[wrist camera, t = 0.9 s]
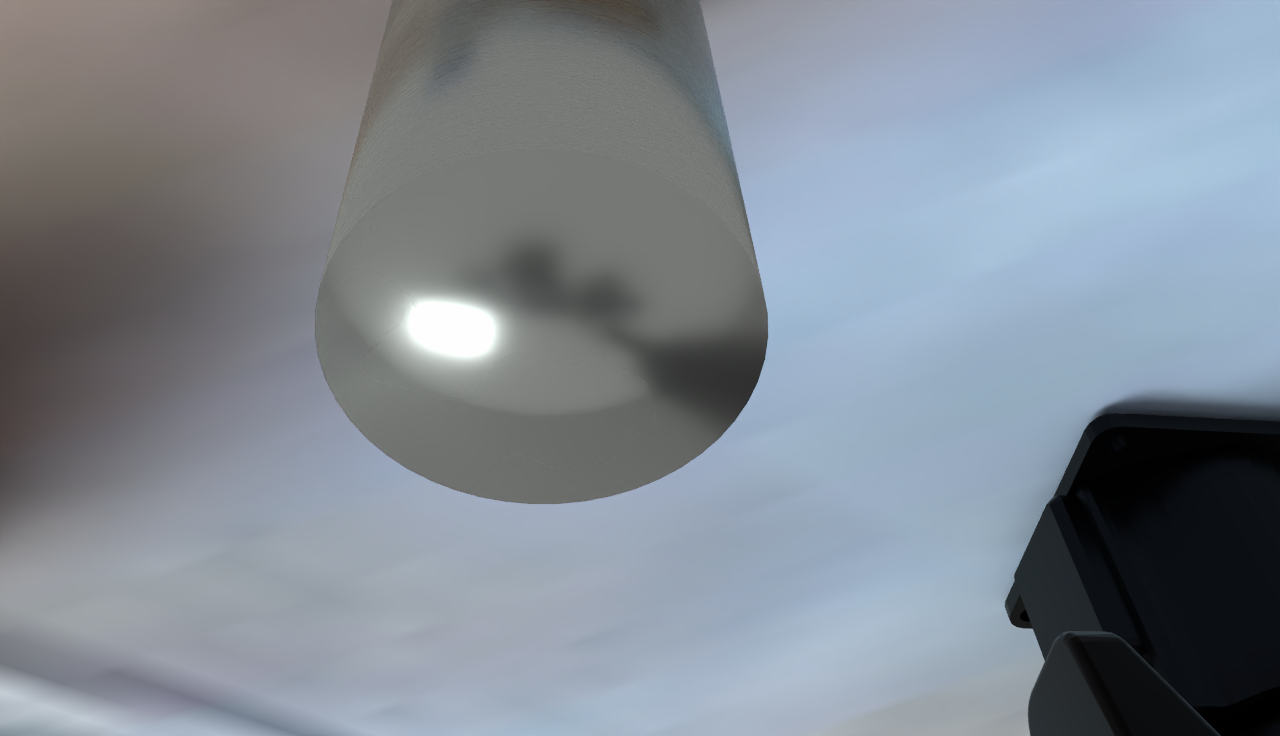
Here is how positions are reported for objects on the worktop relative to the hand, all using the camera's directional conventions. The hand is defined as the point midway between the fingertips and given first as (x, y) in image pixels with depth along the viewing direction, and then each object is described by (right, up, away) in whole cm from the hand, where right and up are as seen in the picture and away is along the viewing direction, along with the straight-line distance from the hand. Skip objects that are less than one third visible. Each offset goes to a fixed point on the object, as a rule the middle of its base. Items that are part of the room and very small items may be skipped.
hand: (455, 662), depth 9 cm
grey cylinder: (0, +9, +10) cm, 13 cm away
